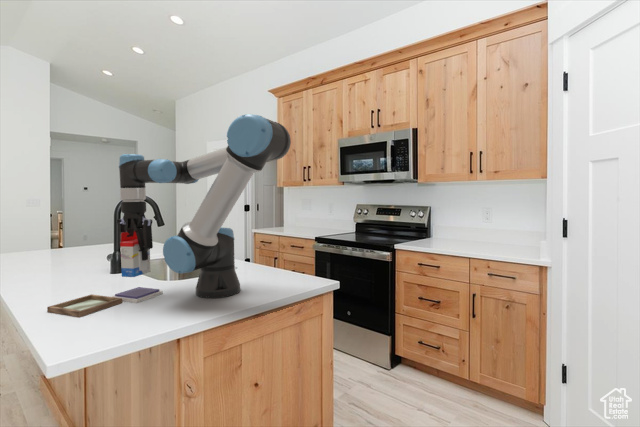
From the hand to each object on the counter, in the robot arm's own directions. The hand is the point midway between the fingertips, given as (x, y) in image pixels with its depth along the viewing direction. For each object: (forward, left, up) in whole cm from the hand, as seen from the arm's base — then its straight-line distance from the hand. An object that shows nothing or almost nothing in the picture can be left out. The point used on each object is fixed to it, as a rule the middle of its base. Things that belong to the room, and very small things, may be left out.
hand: (136, 269), depth 123 cm
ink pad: (0, 0, -10) cm, 10 cm away
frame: (+6, +14, -10) cm, 18 cm away
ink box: (0, 0, -2) cm, 2 cm away
